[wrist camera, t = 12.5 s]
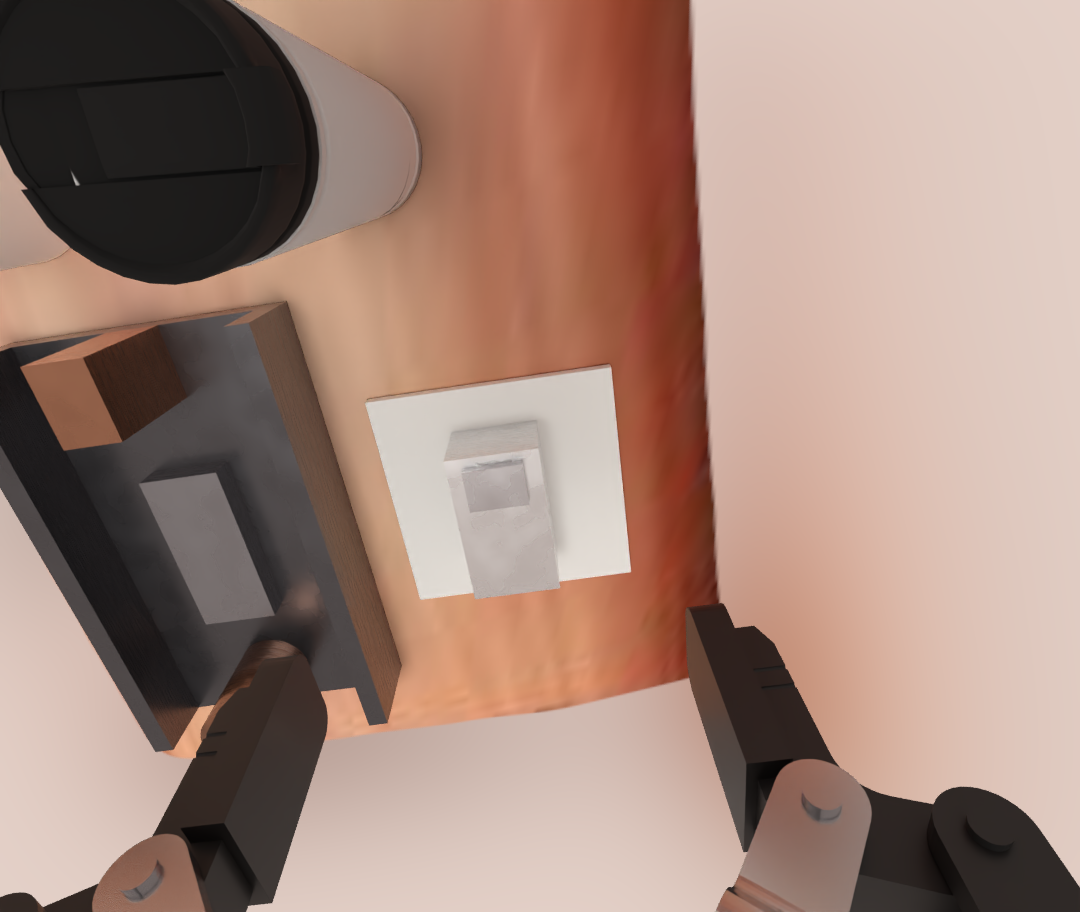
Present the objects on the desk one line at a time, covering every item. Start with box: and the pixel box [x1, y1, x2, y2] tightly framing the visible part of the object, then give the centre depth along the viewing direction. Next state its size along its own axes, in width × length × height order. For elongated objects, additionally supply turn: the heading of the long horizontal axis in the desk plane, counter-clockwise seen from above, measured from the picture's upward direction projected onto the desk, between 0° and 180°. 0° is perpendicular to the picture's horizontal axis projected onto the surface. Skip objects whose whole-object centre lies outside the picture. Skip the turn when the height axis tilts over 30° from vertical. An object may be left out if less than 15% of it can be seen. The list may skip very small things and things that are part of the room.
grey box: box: [443, 420, 560, 599], centre depth 36 cm, size 9×5×5 cm, turn 8°
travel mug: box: [0, 0, 422, 285], centre depth 21 cm, size 6×7×20 cm
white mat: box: [365, 364, 631, 600], centre depth 38 cm, size 14×14×1 cm
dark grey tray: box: [0, 301, 401, 752], centre depth 35 cm, size 26×15×8 cm, turn 8°
